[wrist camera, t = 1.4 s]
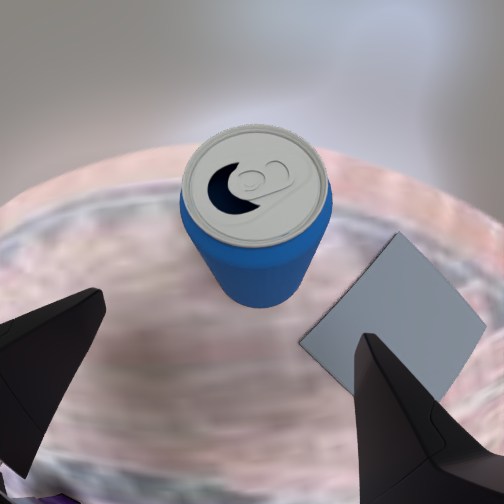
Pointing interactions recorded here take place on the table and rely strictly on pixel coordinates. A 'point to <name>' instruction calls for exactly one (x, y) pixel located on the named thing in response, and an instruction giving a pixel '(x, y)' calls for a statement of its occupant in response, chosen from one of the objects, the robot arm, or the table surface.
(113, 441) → the table surface
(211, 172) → the beverage can
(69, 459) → the table surface
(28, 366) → the robot arm
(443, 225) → the table surface
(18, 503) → the potion bottle
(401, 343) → the mat
